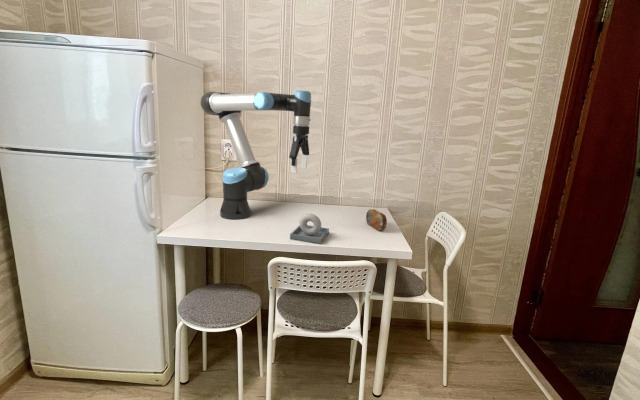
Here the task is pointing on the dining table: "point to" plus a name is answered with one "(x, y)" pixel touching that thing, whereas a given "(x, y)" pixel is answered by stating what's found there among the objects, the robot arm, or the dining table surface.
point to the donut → (313, 219)
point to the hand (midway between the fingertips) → (298, 170)
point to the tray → (316, 238)
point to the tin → (376, 219)
